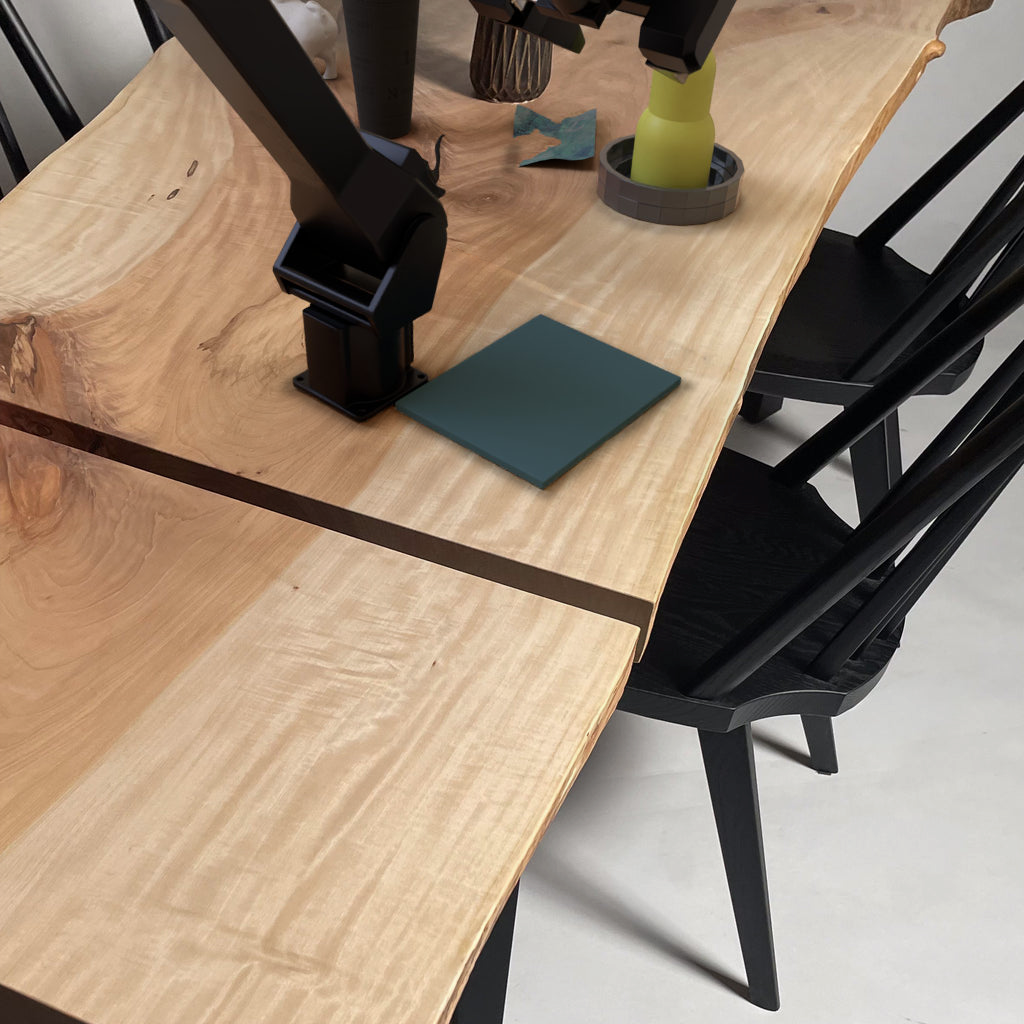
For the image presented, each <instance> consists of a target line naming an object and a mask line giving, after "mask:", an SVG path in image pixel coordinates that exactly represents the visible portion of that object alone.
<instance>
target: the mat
mask: <svg viewBox="0 0 1024 1024" xmlns="http://www.w3.org/2000/svg"><path fill="white" fill-rule="evenodd" d="M681 382H682V376H679V375H677V374H675V373H673V372H671V371H668V370H666V369H664V368H662V367H659V366H658V365H655V364H652V363H651V362H648V361H647V360H644V359H643V358H639V357H637V356H636V355H633V354H630V353H629V352H626V351H624V350H622V349H619V348H617V347H615V346H613V345H610V344H608V343H607V342H604V341H603V340H600V339H597V338H595V337H594V336H591V335H589V334H586V333H584V332H582V331H581V330H580V331H579V330H577V329H576V328H573V327H570V326H568V325H566V324H564V323H561V322H560V321H557V320H555V319H553V318H551V317H549V316H546V315H545V314H542V313H540V314H538V315H535V316H534V317H533V318H531V319H529V320H528V321H526V322H525V323H523V324H521V325H519V326H518V327H516V328H515V329H513V330H511V331H510V332H508V333H507V334H504V335H503V336H502V337H500V338H498V339H496V340H495V341H493V342H492V343H489V344H488V345H487V346H485V347H483V348H482V349H480V350H479V351H477V352H475V353H474V354H472V355H470V356H469V357H467V358H466V359H464V360H462V361H461V362H459V363H457V364H456V365H454V366H452V367H450V368H449V369H447V370H446V371H444V372H443V373H441V374H439V375H437V376H436V377H434V378H432V379H431V380H429V382H428V383H426V384H424V385H423V386H421V387H420V388H418V389H416V390H415V391H413V392H411V393H410V394H408V395H406V396H405V397H403V398H401V399H400V400H398V401H397V402H395V404H394V408H395V410H396V411H397V412H399V413H400V414H403V415H405V416H407V417H408V418H410V419H412V420H414V421H416V422H418V423H419V424H421V425H422V426H424V427H427V428H428V429H430V430H432V431H434V432H436V433H438V434H440V435H441V436H443V437H445V438H447V439H449V440H451V441H452V442H454V443H455V444H458V445H459V446H461V447H463V448H466V449H467V450H469V451H471V452H473V453H475V454H476V455H478V456H480V457H482V458H484V459H486V460H487V461H489V462H491V463H492V464H495V465H497V466H499V467H500V468H502V469H504V470H506V471H507V472H510V473H511V474H513V475H515V476H517V477H518V478H520V479H523V480H524V481H526V482H528V483H529V484H532V485H533V486H535V487H537V488H539V489H541V490H545V489H546V488H547V487H549V486H550V485H551V484H553V483H554V482H555V481H557V480H558V479H559V478H560V477H562V476H563V475H564V474H566V473H567V472H568V471H569V470H570V469H572V468H573V467H575V466H576V465H577V464H579V463H580V462H581V461H582V460H584V459H585V458H586V457H588V456H589V455H590V454H592V453H593V452H595V450H597V449H598V448H599V447H601V446H602V445H603V444H605V443H606V442H608V441H609V440H610V439H611V438H612V437H614V436H615V435H616V434H618V433H619V432H620V431H621V430H623V429H624V428H626V427H627V426H629V425H630V424H631V423H632V422H633V421H635V420H636V419H637V418H638V417H640V416H641V415H642V414H644V413H645V412H646V411H647V410H649V409H650V408H652V407H653V406H654V405H655V404H657V403H658V402H659V401H661V400H662V399H663V398H664V397H666V396H667V395H669V394H670V393H672V391H674V390H675V389H677V388H678V387H679V386H680V385H681V384H682V383H681Z"/></svg>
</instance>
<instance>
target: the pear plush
mask: <svg viewBox="0 0 1024 1024" xmlns="http://www.w3.org/2000/svg"><path fill="white" fill-rule="evenodd" d="M716 60H717V59H716V56H715V53H714V51H713V48H712V49H711V51H710V53H709V55H708V57H707V59H706V61H705V62H704V64H703V66H702V68H701V69H700V70H698V71H696V72H694V73H692V74H690V75H689V76H688V78H687V80H686V82H685V83H684V84H680V83H677V82H675V81H673V80H671V79H670V78H668V77H666V76H664V75H663V74H661V73H659V72H657V71H656V70H654V69H652V75H651V82H650V83H651V84H650V92H649V100H648V106H647V107H646V108H645V109H644V110H643V112H642V114H641V115H640V117H639V119H638V122H637V125H636V128H635V133H634V134H635V143H634V151H633V160H632V168H631V177H630V179H632V180H635V181H638V182H640V183H643V184H648V185H653V186H658V187H663V188H677V189H694V188H707V184H708V178H709V172H710V166H711V160H712V154H713V148H714V142H715V141H716V126H715V121H714V119H713V116H712V114H711V105H712V99H713V94H714V88H715V80H716V76H717V75H716V74H717V61H716ZM715 143H716V142H715Z"/></svg>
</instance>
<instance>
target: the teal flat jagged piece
mask: <svg viewBox="0 0 1024 1024" xmlns="http://www.w3.org/2000/svg"><path fill="white" fill-rule="evenodd" d="M597 111H598V109H597V108H592V109H589V110H587V111H584V112H583V113H581V114H577V115H575V116H571V117H565V118H564V119H562V120H561V121H560V123H559V122H558V123H556V122H555V121H553V120H552V119H551V118H548V117H546V116H545V115H542V114H540V113H538V112H536V111H534V110H533V109H531V108H529V107H527V106H524V105H521V104H518V103H517V104H516V107H515V111H514V116H513V132H512V133H513V134H512V136H513V137H512V139H515V138H517V137H520V136H521V137H522V136H529V135H531V134H532V133H534V130H538V134H540V135H542V136H544V137H547V138H554V139H556V140H560V143H559V144H558V145H554V146H548V147H547V149H546V150H544V151H541V152H539V153H538V154H536V155H534V156H533V157H531V158H528V159H524V160H522V161H521V162H520V163H519V165H518V168H519V167H522V166H525V165H529V164H533V163H537V162H539V161H546V160H551V159H552V160H553V159H557V160H558V159H560V160H567V161H580V160H586V159H590V158H592V157H595V148H596V147H595V145H596V133H597V132H596V131H597V129H596V128H597Z"/></svg>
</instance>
